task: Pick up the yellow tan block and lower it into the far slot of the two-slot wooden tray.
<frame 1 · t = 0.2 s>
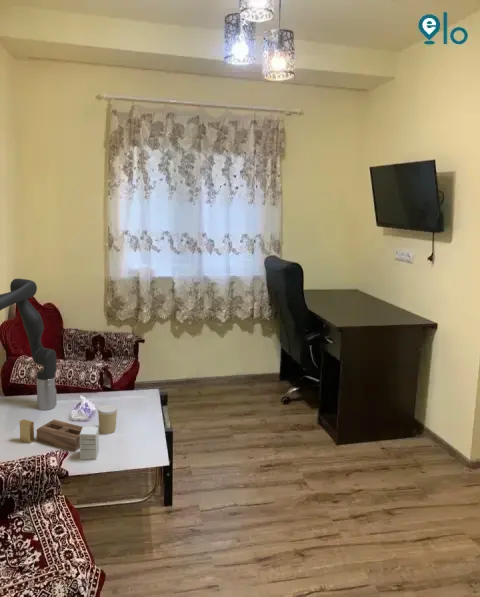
two-slot wooden tray: (64, 440, 250), on the table
supplement box: (89, 456, 238), on the table
yellow tan block: (27, 440, 248), on the table
coffee cup: (107, 431, 263), on the table
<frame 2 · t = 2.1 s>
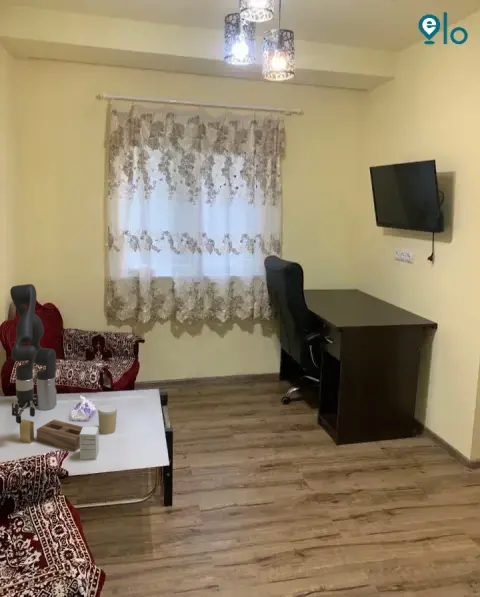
hand: (25, 419, 245), 11 cm above the table, tool pointing down, fingers open, 8 cm apart
nothing on the table moved.
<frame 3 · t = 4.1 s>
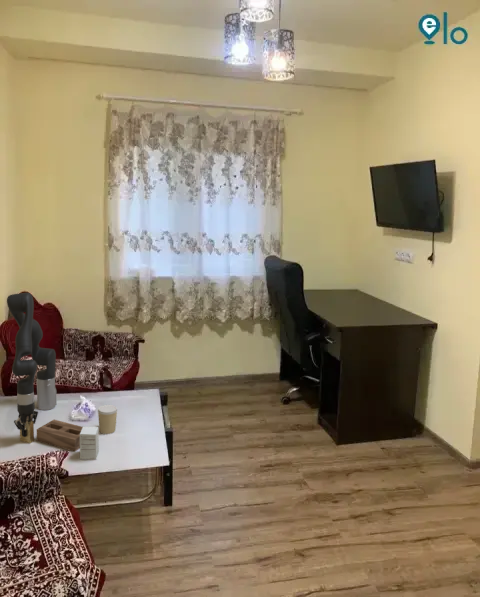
hand: (26, 434, 247), 3 cm above the table, tool pointing down, fingers closed on yellow tan block, 2 cm apart
yellow tan block: (27, 440, 248), on the table, touching gripper
everything else where it was.
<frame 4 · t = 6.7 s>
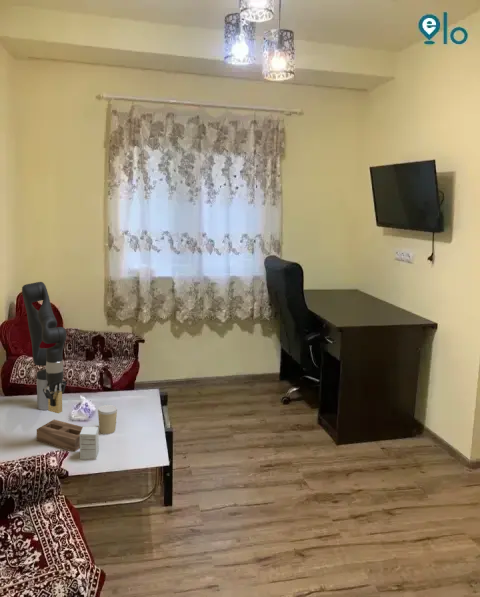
hand: (55, 404, 243), 20 cm above the table, tool pointing down, fingers closed on yellow tan block, 2 cm apart
yellow tan block: (55, 411, 244), point 16 cm above the table, touching gripper
everything else where it was.
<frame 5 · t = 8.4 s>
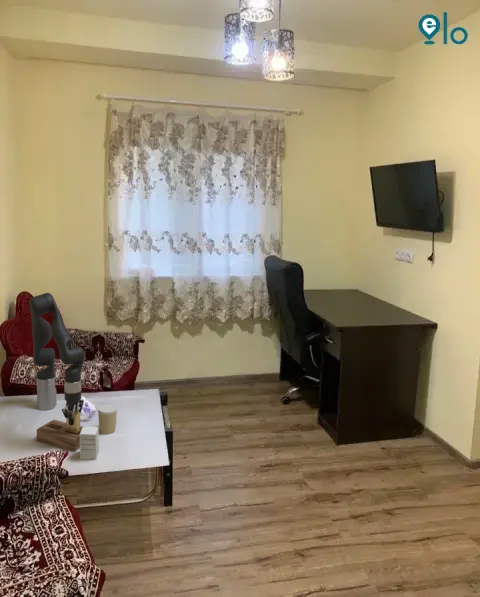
hand: (73, 423, 246), 10 cm above the table, tool pointing down, fingers closed on yellow tan block, 2 cm apart
yellow tan block: (73, 431, 247), point 6 cm above the table, touching gripper
everything else where it was.
when the fingers open (8 cm above the table, at t = 9.5 s): yellow tan block drops 2 cm, resting on two-slot wooden tray.
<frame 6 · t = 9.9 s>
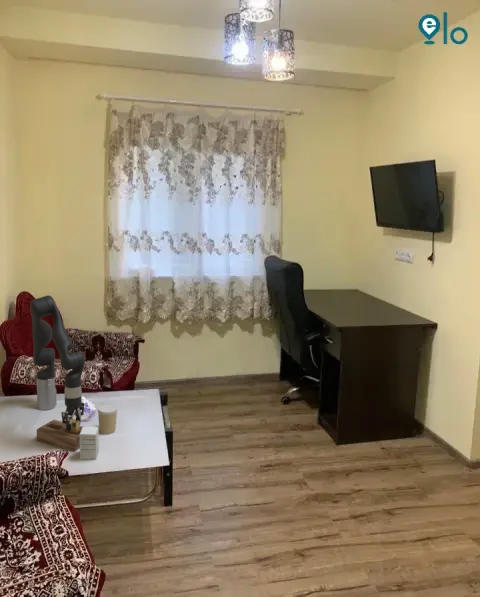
hand: (73, 427, 246), 8 cm above the table, tool pointing down, fingers open, 6 cm apart
yellow tan block: (72, 440, 248), point 1 cm above the table, touching two-slot wooden tray
everything else where it was.
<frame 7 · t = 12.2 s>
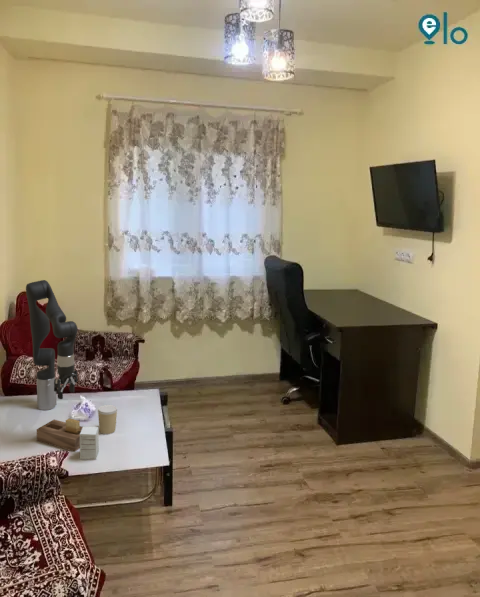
hand: (66, 395, 247), 23 cm above the table, tool pointing down, fingers open, 8 cm apart
nothing on the table moved.
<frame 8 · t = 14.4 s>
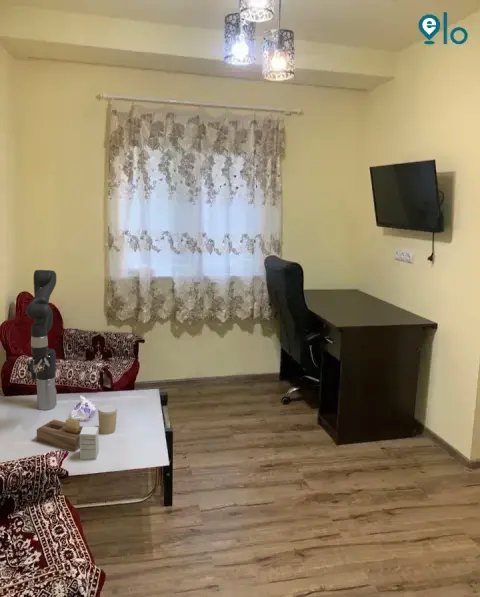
hand: (40, 376, 253), 28 cm above the table, tool pointing down, fingers open, 8 cm apart
nothing on the table moved.
at the end: yellow tan block 0.5 cm from the target spot on the two-slot wooden tray, point 1.5 cm above the two-slot wooden tray's base; yellow tan block tilted 0°; the gripper is holding nothing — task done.
